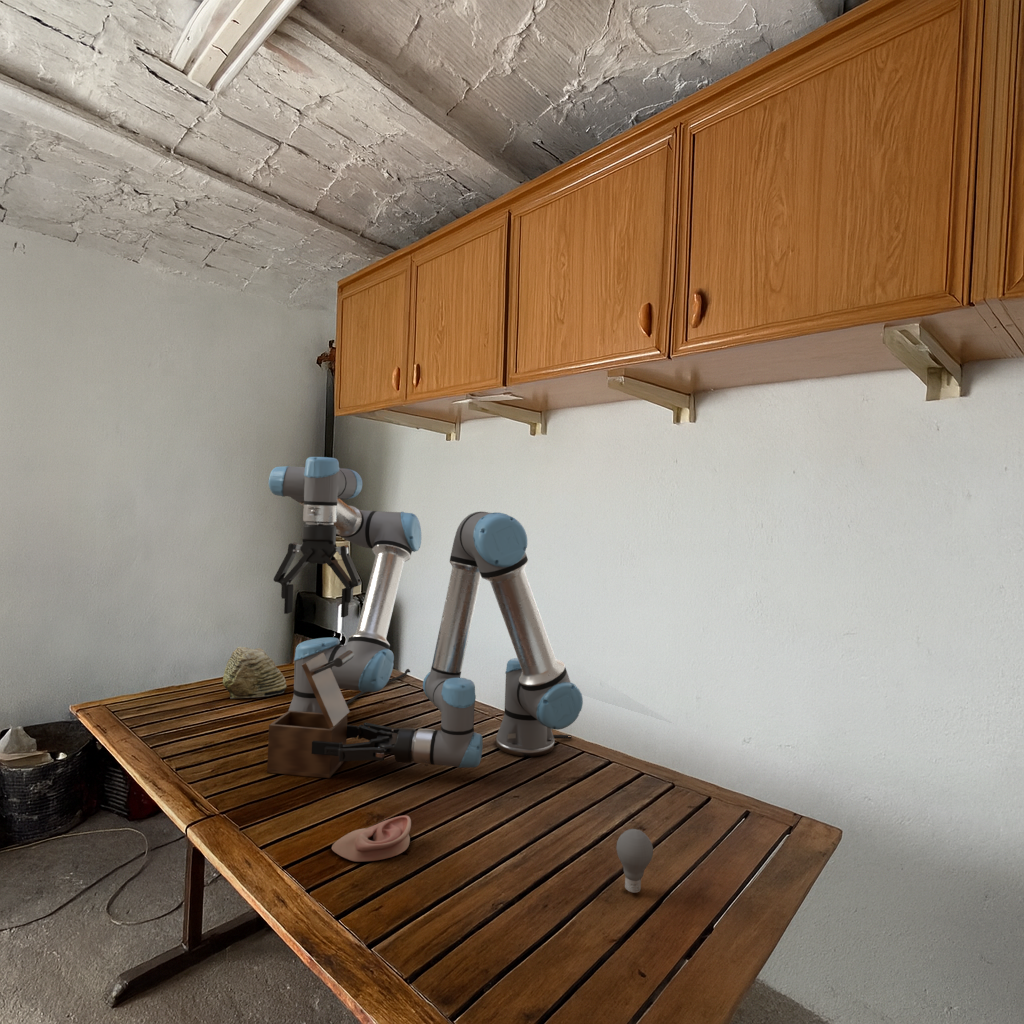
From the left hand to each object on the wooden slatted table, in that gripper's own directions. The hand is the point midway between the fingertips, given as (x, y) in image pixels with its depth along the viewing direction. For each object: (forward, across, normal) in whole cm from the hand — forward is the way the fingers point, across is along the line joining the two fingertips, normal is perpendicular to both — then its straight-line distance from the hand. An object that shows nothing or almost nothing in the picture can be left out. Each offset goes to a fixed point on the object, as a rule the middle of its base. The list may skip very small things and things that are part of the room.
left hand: (316, 614), depth 148 cm
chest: (+36, -1, 0) cm, 36 cm away
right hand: (+29, +2, 0) cm, 29 cm away
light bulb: (+36, +71, -36) cm, 87 cm away
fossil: (+36, -38, +46) cm, 70 cm away
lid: (+18, +3, 0) cm, 18 cm away
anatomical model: (+36, +25, -30) cm, 53 cm away
